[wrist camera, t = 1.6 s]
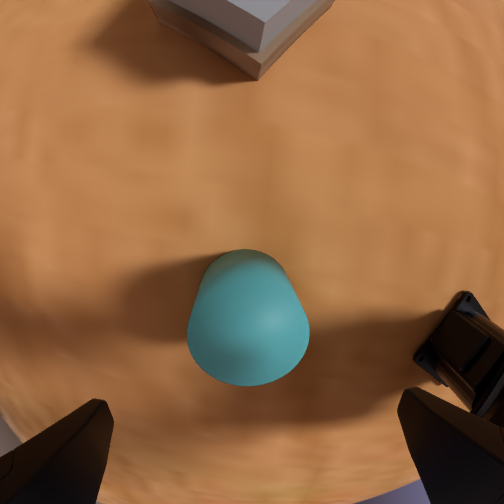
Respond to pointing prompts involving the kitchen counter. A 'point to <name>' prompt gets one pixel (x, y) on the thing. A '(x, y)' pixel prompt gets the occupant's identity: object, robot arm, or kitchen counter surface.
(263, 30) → the tower top
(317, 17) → the tower base
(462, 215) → the kitchen counter surface
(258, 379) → the teal domed cylinder
